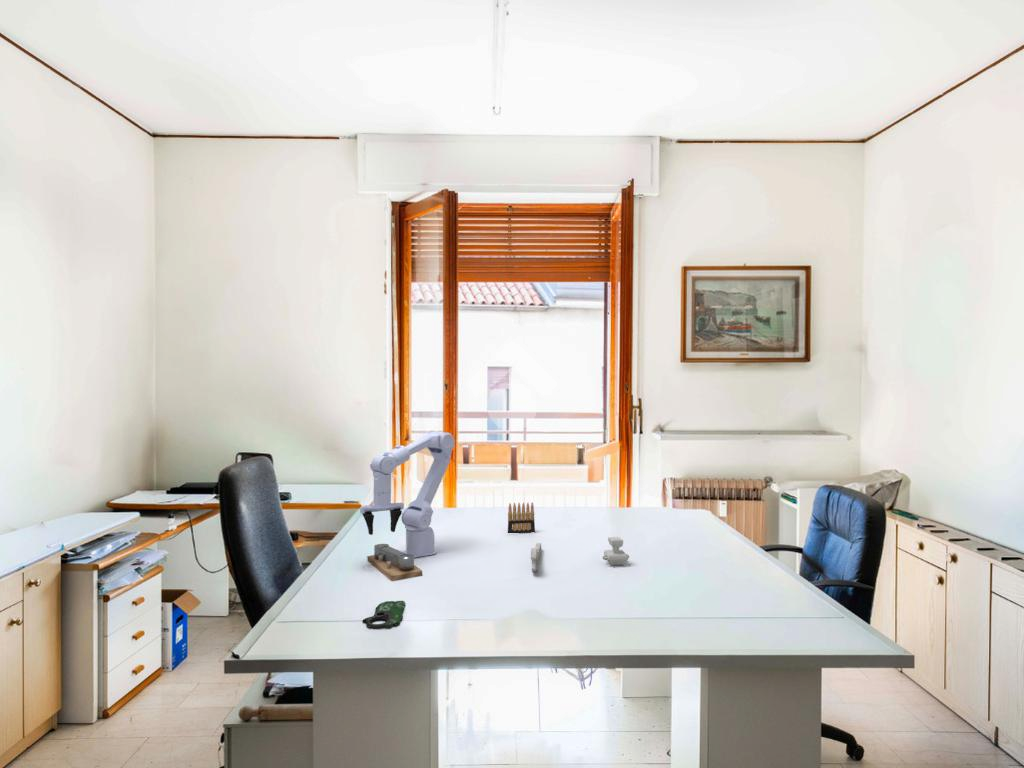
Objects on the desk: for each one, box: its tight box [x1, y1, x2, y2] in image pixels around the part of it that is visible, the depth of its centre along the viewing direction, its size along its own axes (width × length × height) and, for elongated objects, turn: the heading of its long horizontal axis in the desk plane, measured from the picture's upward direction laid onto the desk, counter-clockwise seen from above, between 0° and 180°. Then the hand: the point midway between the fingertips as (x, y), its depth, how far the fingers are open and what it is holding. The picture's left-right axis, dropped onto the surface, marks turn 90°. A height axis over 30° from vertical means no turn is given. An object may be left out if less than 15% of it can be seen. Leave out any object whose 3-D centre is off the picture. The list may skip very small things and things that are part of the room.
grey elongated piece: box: [373, 543, 415, 571], centre depth 205 cm, size 5×21×4 cm, turn 40°
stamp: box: [602, 536, 630, 566], centre depth 207 cm, size 9×7×8 cm
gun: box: [362, 600, 406, 630], centre depth 165 cm, size 16×2×10 cm
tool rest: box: [366, 554, 423, 582], centre depth 205 cm, size 10×24×4 cm, turn 31°
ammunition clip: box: [507, 502, 536, 534], centre depth 247 cm, size 11×2×12 cm, turn 97°
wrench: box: [530, 542, 542, 573], centre depth 209 cm, size 8×2×30 cm
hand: (381, 532), depth 209 cm, fingers open, 7 cm apart
